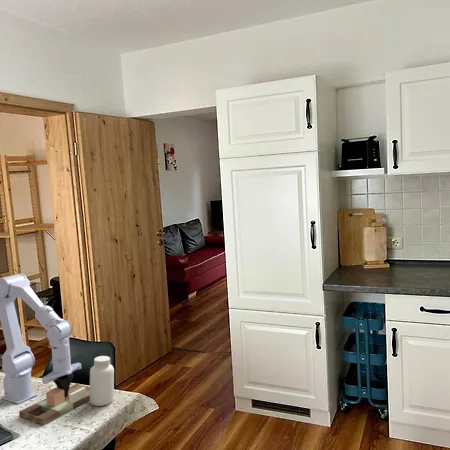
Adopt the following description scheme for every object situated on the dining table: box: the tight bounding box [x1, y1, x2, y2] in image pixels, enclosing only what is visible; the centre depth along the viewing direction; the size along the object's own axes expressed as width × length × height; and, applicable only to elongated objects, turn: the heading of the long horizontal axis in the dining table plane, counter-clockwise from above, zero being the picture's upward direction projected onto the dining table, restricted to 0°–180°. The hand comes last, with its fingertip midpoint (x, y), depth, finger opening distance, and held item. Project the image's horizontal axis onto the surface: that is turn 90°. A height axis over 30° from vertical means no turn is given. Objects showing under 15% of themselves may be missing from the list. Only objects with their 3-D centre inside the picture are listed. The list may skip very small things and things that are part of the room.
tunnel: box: [49, 385, 86, 404], centre depth 153 cm, size 11×6×3 cm, turn 59°
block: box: [45, 388, 65, 406], centre depth 148 cm, size 4×4×4 cm
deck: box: [18, 383, 90, 427], centre depth 151 cm, size 12×24×2 cm, turn 149°
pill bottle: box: [89, 355, 115, 407], centre depth 152 cm, size 8×8×15 cm
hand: (64, 396), depth 151 cm, fingers closed
